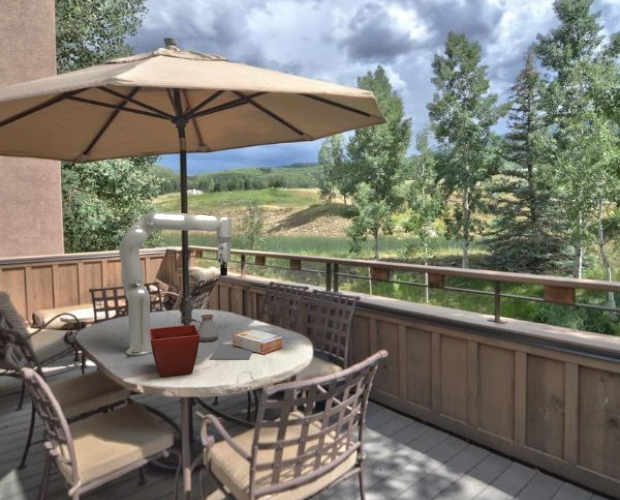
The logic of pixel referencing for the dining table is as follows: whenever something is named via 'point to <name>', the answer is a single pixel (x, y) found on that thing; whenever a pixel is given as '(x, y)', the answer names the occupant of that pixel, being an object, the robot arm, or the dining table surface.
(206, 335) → the coffee pot
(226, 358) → the mat
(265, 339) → the cracker box
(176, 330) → the plant pot
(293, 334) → the dining table surface
